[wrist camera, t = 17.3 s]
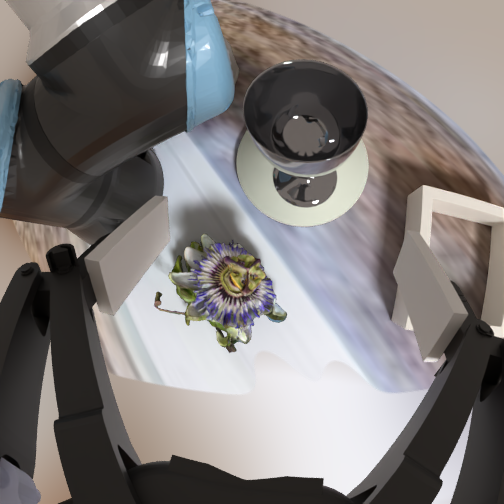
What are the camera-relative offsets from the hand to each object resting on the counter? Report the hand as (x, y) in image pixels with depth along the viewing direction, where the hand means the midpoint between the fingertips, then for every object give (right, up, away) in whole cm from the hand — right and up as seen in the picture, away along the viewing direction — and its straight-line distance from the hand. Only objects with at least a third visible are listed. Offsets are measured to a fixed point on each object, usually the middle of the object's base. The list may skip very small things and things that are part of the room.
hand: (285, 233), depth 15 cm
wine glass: (+4, +7, +16) cm, 18 cm away
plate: (+4, +9, +17) cm, 20 cm away
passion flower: (-4, -5, +18) cm, 20 cm away
